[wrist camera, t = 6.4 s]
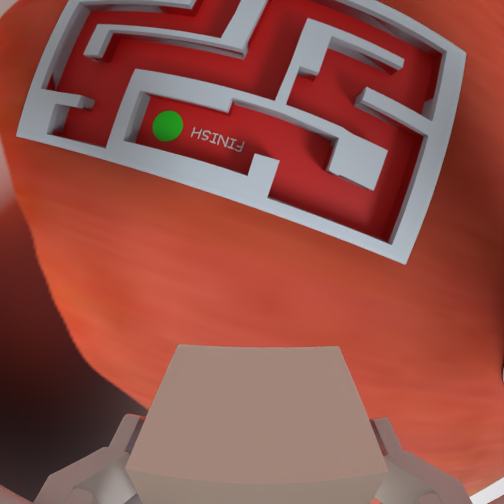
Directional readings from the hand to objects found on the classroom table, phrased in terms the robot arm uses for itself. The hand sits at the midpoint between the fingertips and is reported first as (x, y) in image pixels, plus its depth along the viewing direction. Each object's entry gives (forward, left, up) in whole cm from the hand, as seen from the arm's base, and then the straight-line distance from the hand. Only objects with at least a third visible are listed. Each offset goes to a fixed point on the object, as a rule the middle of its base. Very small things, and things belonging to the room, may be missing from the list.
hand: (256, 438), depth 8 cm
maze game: (+3, -16, -18) cm, 24 cm away
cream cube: (0, 0, -2) cm, 2 cm away
